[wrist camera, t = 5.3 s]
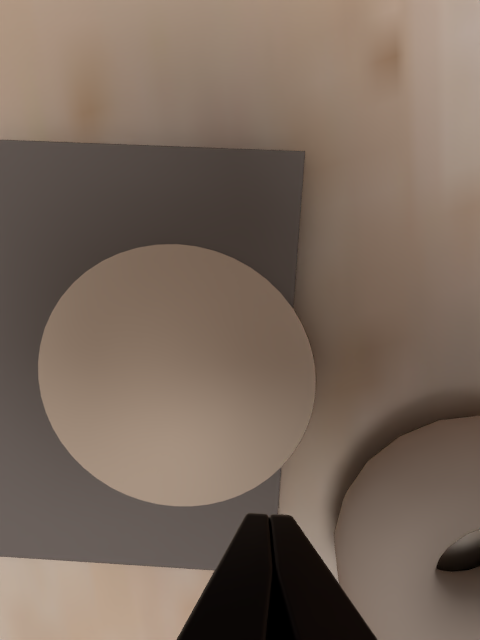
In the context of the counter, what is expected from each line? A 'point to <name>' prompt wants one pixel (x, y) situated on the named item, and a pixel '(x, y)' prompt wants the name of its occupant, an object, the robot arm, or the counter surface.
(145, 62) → the counter surface
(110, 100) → the counter surface
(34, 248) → the kitchen scale
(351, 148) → the counter surface
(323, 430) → the counter surface
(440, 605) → the donut
